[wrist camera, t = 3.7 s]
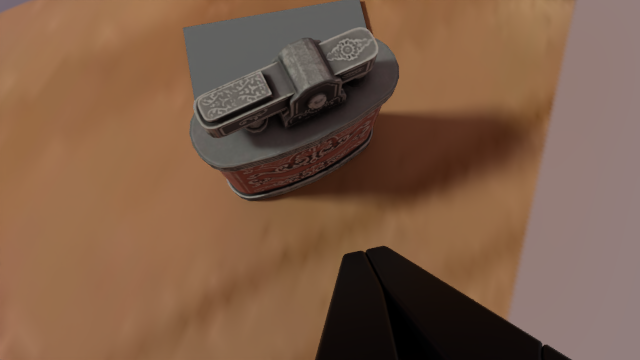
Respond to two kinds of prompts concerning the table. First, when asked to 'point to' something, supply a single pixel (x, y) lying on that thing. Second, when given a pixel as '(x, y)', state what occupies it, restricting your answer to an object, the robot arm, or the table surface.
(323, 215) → the table surface
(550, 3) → the table surface
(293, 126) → the lighter
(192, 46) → the pad
